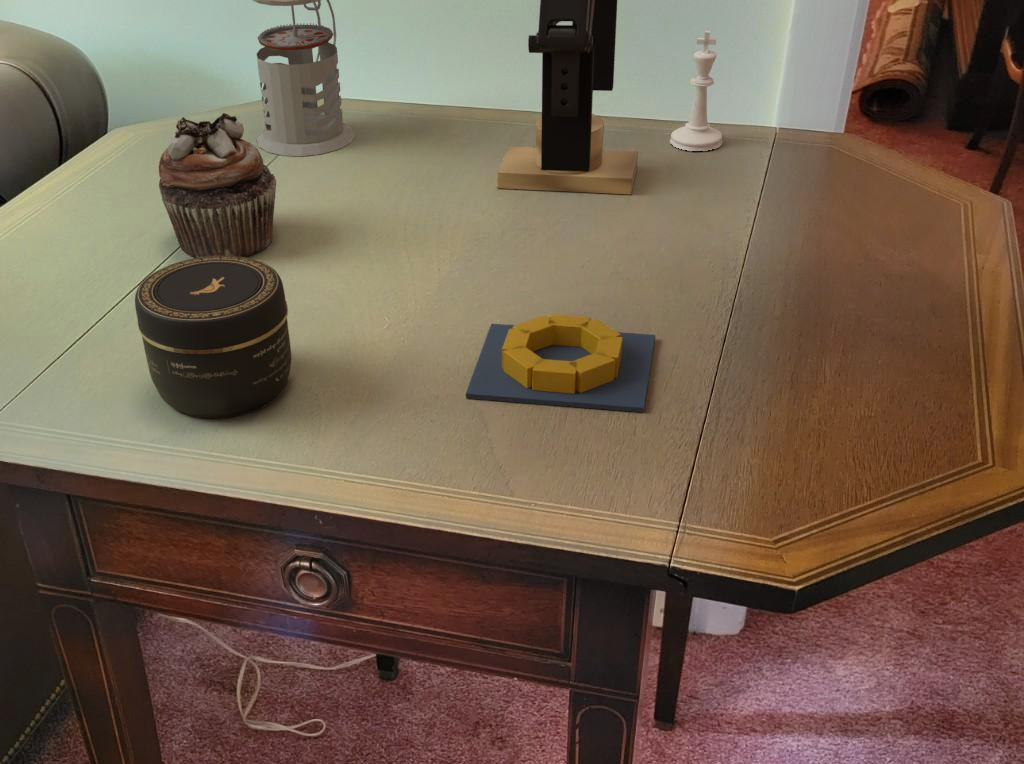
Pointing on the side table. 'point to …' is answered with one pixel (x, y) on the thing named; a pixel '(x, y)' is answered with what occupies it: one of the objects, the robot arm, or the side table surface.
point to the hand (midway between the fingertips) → (579, 126)
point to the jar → (215, 335)
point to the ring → (556, 372)
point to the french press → (300, 88)
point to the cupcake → (217, 190)
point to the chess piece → (699, 106)
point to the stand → (604, 174)
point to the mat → (611, 396)
